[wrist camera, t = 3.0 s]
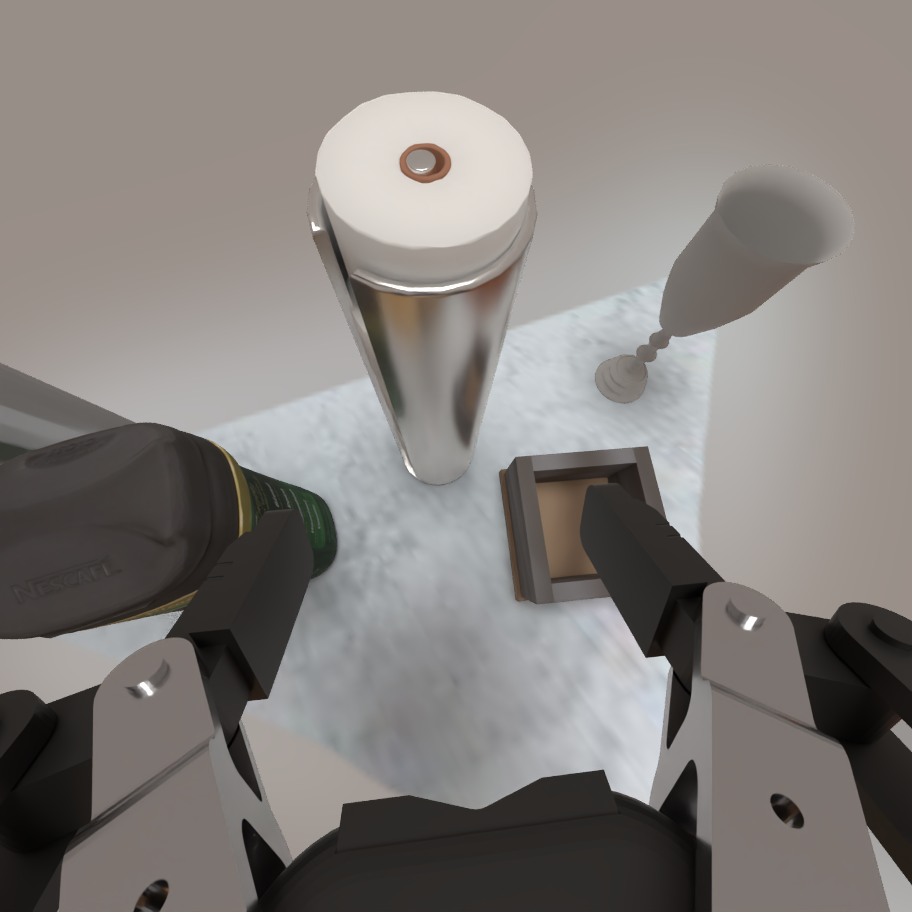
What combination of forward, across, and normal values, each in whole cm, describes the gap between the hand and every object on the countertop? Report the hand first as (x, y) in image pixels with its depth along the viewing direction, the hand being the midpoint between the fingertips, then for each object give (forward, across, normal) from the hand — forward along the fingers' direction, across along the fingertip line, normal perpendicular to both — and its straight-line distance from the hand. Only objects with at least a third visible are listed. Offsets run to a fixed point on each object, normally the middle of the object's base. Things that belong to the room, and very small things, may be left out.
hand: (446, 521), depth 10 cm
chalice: (+26, -19, +5) cm, 32 cm away
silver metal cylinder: (+21, 0, +9) cm, 23 cm away
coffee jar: (+16, +14, +14) cm, 26 cm away
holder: (+16, -11, +15) cm, 24 cm away
